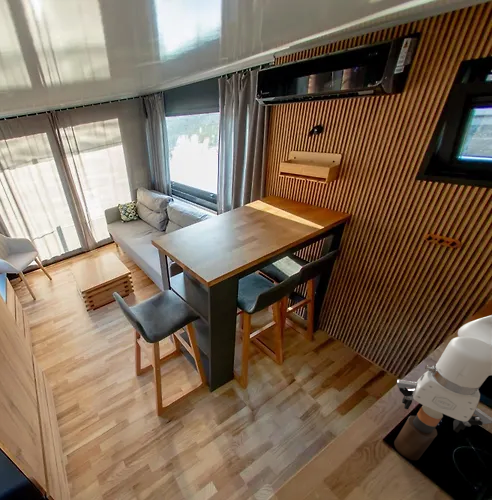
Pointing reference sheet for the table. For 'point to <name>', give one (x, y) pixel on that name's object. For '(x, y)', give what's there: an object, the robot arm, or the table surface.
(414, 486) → the table surface
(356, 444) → the table surface
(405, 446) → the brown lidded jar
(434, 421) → the orange jar cap
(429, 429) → the grey short cylinder
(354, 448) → the table surface
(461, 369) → the robot arm
